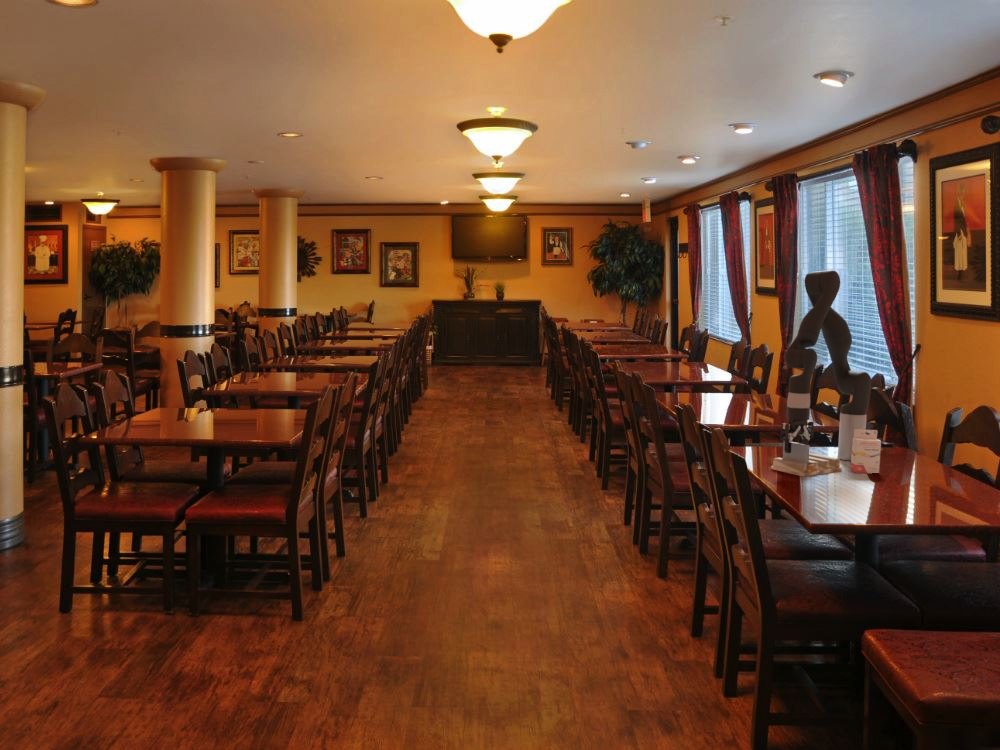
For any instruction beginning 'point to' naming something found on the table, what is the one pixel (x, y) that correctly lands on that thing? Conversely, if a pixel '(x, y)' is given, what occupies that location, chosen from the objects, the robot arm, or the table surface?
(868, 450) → the ink cartridge box
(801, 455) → the panel
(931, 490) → the table surface
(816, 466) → the rack
